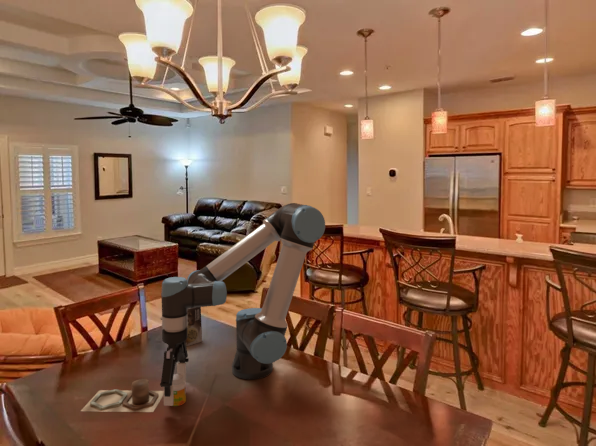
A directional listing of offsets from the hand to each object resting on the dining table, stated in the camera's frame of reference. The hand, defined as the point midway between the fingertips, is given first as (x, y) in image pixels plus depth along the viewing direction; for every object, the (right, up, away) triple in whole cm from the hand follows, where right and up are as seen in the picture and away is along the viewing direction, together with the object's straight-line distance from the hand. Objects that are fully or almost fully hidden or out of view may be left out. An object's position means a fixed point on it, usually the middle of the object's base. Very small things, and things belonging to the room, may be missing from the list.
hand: (175, 392), depth 130 cm
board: (-16, -4, +1) cm, 17 cm away
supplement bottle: (0, -5, +1) cm, 5 cm away
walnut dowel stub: (-11, -3, +1) cm, 11 cm away
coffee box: (-8, +2, +48) cm, 49 cm away
